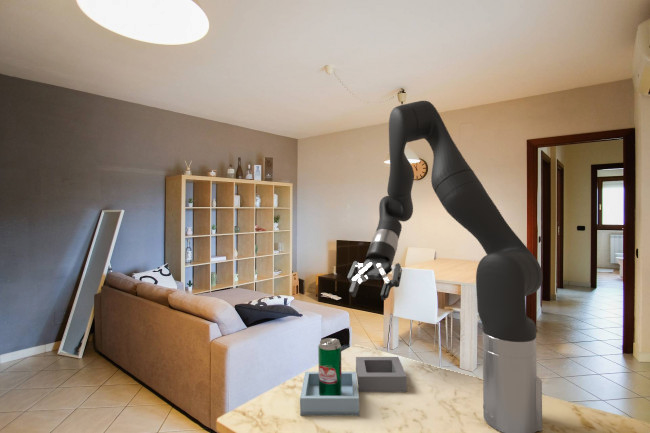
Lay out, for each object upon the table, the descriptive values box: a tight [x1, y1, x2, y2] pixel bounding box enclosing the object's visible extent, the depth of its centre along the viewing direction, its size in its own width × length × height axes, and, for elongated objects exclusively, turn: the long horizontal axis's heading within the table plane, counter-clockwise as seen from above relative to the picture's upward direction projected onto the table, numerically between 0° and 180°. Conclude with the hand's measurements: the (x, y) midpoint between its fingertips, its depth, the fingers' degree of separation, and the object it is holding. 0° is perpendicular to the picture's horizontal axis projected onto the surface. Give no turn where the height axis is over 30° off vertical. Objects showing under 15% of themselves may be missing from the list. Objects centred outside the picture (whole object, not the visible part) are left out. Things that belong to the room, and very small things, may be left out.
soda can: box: [317, 337, 343, 396], centre depth 77 cm, size 5×5×12 cm
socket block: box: [355, 356, 408, 393], centre depth 86 cm, size 11×11×4 cm
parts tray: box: [299, 371, 360, 417], centre depth 77 cm, size 12×12×4 cm
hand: (367, 296), depth 91 cm, fingers open, 8 cm apart
